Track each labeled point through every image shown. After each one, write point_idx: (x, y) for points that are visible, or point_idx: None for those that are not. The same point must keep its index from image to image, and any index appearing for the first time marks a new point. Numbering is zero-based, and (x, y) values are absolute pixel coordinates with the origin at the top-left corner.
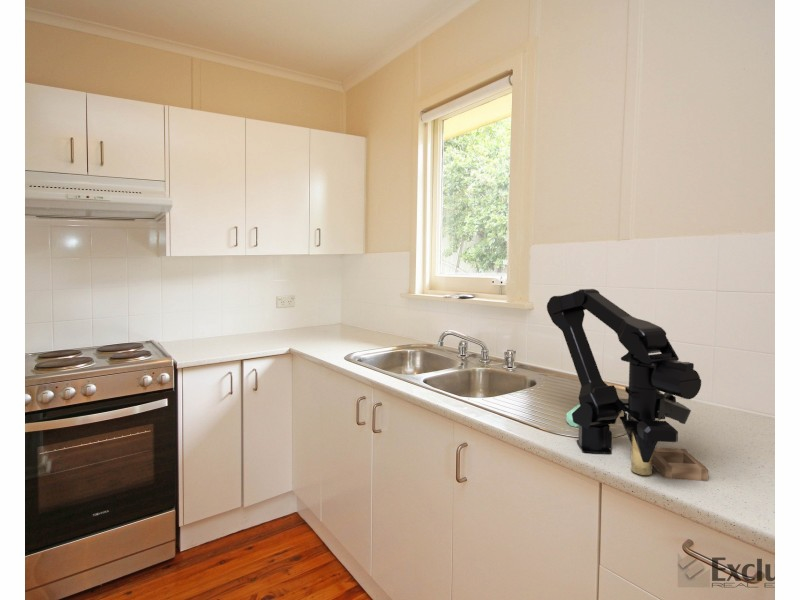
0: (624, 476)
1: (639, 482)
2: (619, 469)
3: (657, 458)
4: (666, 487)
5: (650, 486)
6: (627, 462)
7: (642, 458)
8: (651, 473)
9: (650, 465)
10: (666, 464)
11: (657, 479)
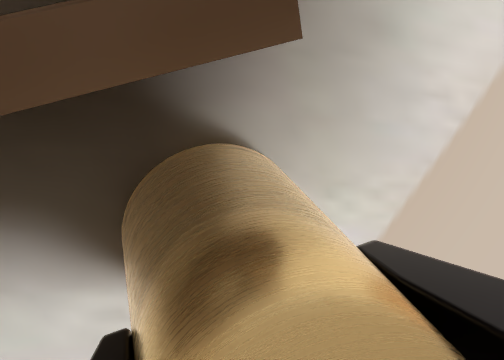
0: None
1: (373, 226)
2: None
3: (38, 105)
4: (415, 44)
5: (418, 159)
6: (4, 326)
7: None
8: (256, 151)
9: (305, 197)
10: (223, 15)
11: (289, 97)
